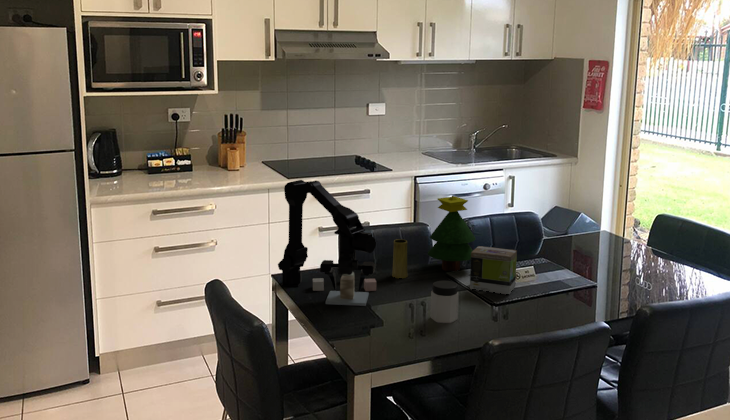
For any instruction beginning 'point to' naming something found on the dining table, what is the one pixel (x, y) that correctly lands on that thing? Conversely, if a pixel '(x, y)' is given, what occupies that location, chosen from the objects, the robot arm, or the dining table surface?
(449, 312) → the jar
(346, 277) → the birch block
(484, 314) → the dining table surface
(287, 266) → the robot arm
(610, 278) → the dining table surface
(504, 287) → the tea box
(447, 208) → the decorative tree
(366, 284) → the pink block
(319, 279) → the off-white block
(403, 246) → the vase
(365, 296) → the blue board
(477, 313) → the dining table surface
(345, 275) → the sage cylinder
